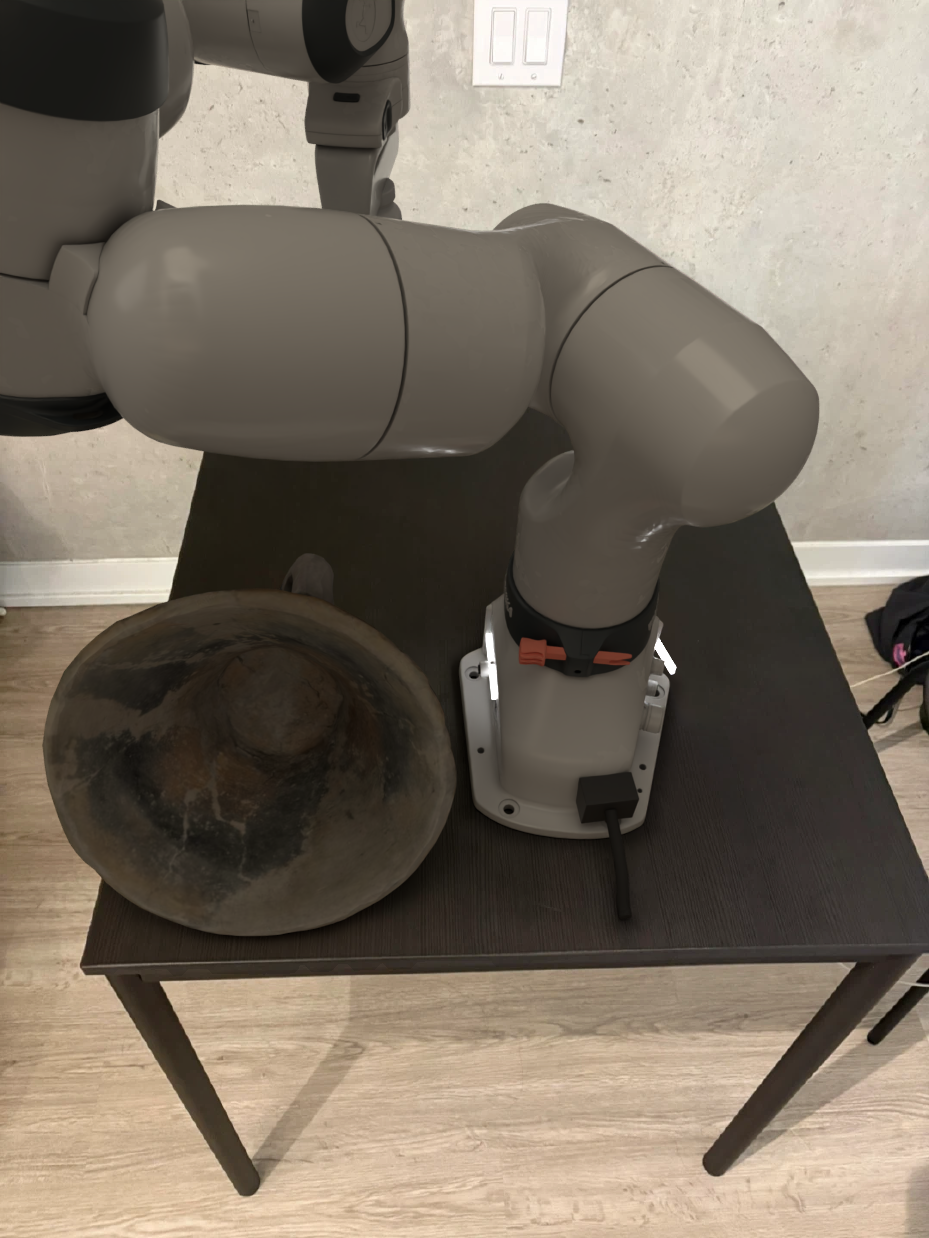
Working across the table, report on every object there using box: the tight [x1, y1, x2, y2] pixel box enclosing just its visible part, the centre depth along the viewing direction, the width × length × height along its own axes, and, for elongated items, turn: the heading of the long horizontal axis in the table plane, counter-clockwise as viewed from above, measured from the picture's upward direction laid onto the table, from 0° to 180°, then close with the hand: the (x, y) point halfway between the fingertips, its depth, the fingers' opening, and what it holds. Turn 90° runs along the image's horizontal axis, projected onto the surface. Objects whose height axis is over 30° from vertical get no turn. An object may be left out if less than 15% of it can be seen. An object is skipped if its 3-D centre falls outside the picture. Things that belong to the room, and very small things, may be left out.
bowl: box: [41, 552, 458, 937], centre depth 63 cm, size 27×26×15 cm
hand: (369, 241), depth 85 cm, fingers closed on pill bottle, 6 cm apart
